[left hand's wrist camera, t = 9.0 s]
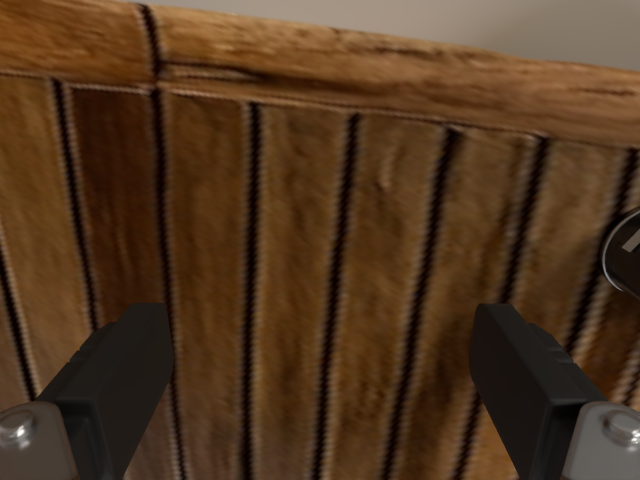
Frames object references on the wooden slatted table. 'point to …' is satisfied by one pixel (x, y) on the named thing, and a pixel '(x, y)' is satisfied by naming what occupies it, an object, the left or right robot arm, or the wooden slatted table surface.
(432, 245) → the wooden slatted table surface
